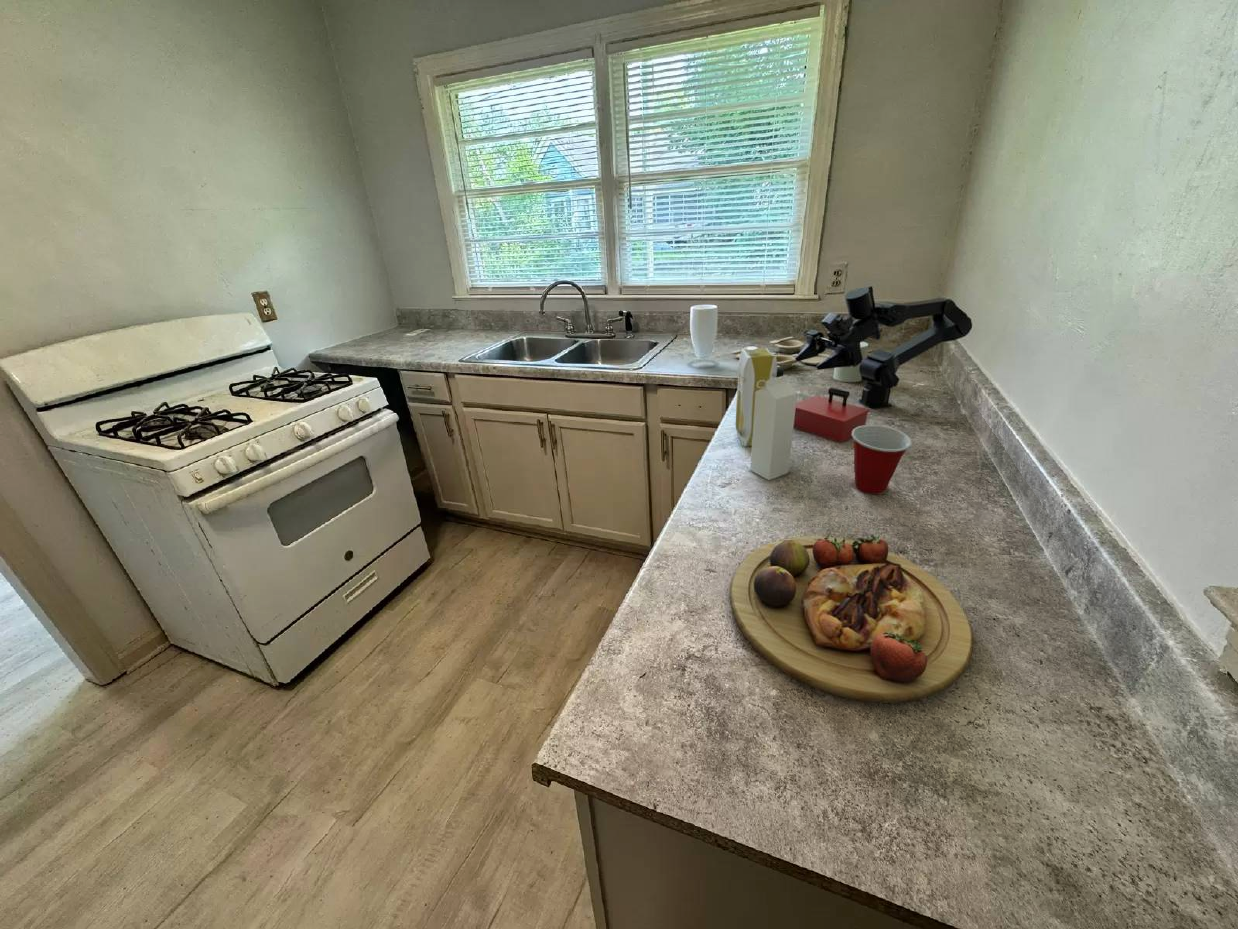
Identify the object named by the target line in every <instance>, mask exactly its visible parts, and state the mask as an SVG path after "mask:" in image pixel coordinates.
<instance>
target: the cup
mask: <svg viewBox="0 0 1238 929" xmlns="http://www.w3.org/2000/svg"><path fill="white" fill-rule="evenodd" d="M718 308H719V307H718V306H717V305H716V304H715V305H714V304H698V305H697V304H696V305H692V306H691V307H690V312H689V313H690V314H689V315H690V316H689V328H690V329H689V330H690V337H691V342H692V347H693V350H694V353H695V355H696V357H697V359H709V358H710V357H711V354H712V352H713V350H714V346H715V343H716V338H717V333H718V321H719V320H718V318H719V317H718V316H719V315H718V314H719V313H718V312H719V310H718Z"/></svg>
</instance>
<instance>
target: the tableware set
mask: <svg viewBox="0 0 1238 929" xmlns="http://www.w3.org/2000/svg"><path fill="white" fill-rule="evenodd" d="M769 344H772V345H774V347H776V348H778V350H779V352H781V353H783V354H778V353H777V352H771V353H772V354H773V355H775V356H776V359H777V366H779V367H782V368H783V369H784V370H788V369H790V368H791V367H792V365H795V364H797V363H798V362H799V361H796V359H795V358H796V356H797V355H798V354H799V353H797V352H798V350H799V349H800V348H804V347H805V343H804V342H803V341H801V340H797V339H795V340H794V336H788V337H785V338H780V339H777V340H770V341H769ZM749 347H752V346H751V345H747V346H745V347H744V348H741V349H738V350H735V351H731V354H732V355H734V357H735V358H737V359H740V355H741V350H745V349H747V348H749ZM784 353H785V354H784ZM793 353H795V354H793ZM787 354H790V355H787ZM830 355H831V354H828V353H827V354H826V353H820V354H818V356H815V357H811V358H808V359H805V360H801V361H800V362H801V363H803V364H806V365H811V366H812V365H814V366H817V365H818V364H820V363H821V362H822V361H823V360H825V359H826V358H827V357H829V356H830Z"/></svg>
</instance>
